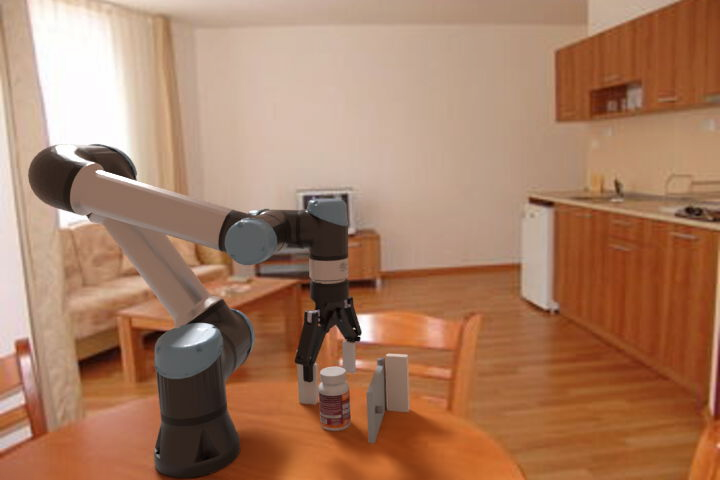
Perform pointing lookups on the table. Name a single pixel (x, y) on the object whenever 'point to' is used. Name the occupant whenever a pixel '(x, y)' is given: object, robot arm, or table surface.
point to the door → (376, 400)
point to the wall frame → (395, 383)
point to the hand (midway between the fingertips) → (331, 383)
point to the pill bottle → (334, 399)
